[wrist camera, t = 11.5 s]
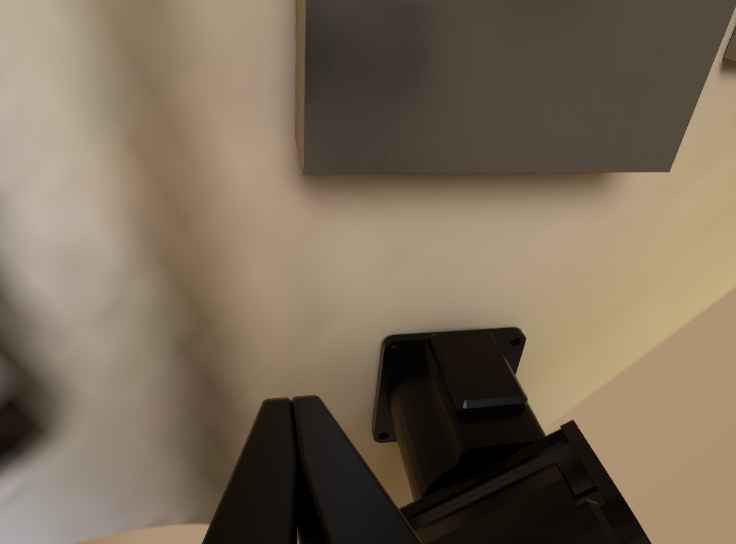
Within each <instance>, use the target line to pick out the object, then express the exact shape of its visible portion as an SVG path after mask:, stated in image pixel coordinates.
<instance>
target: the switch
mask: <svg viewBox="0 0 736 544" xmlns="http://www.w3.org/2000/svg"><path fill="white" fill-rule="evenodd" d="M735 7H736V0H296V101H295V137H296V142H297V146H298V151H299V156H300V161H301V165H302V170H303V174H443V173H593V172H670V169H671V167H672V164H673V162H674V159H675V157H676V154H677V152H678V149H679V147H680V144H681V142H682V139H683V137H684V134H685V132H686V129H687V127H688V124H689V122H690V119H691V117H692V114H693V112H694V109H695V107H696V104H697V102H698V99H699V97H700V94H701V92H702V89H703V87H704V84H705V82H706V79H707V77H708V74H709V72H710V69H711V67H712V64H713V62H714V59H715V57H716V54H717V52H718V49H719V47H720V44H721V42H722V39H723V37H724V34H725V32H726V29H727V27H728V24H729V22H730V19H731V17H732V14H733V12H734V9H735Z"/></svg>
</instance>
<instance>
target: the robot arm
mask: <svg viewBox="0 0 736 544" xmlns="http://www.w3.org/2000/svg"><path fill="white" fill-rule="evenodd" d="M513 338H515V339H514V340H512V339H513ZM525 342H526V337H525V335H524V334H523V332H522V331H521V329H519V328H498V329H482V330H466V331H450V332H434V333H418V334H402V335H392V336H389V337H387V338H386V339H385V340H384V341H383V344H382V350H381V359H380V367H379V376H378V384H377V393H376V401H375V409H374V418H373V426H372V433H373V437H374V440H375V441H376V442H379V443H386V442H396V441H397V442H398V445H399V449H400V452H401V456H402V460H403V463H404V467H405V470H406V474H407V477H408V481H409V485H410V488H411V492H412V495H413V499H414V502H412V503H410V504H408V505H406V506H404V507H402V508H400V509H398V507H397V506H396V505H395V503H394V502H393V500H392V499H391V498H390V496H389V495H388V493H387V492H386V491H385V489H384V488H383V486H382V485H381V483H380V482H379V481H378V479H377V478H376V476H375V475H374V474H373V472H372V471H371V469H370V468H369V467H368V465H367V464H366V462H365V461H364V459H363V458H362V457H361V455H360V454H359V452H358V451H357V450H356V448H355V447H354V445H353V444H352V443H351V441H350V440H349V438H348V437H347V435H346V434H345V433H344V431H343V430H342V428H341V427H340V426H339V424H338V423H337V421H336V420H335V419H334V417H333V416H332V414H331V413H330V411H329V410H328V409H327V407H326V406H325V404H324V403H323V402H322V400H321V399H320V398H319V397H318V396H316V395H308V396H296V397H294V398H293V399H292V400H290V399H289V398H287V397H284V398H272V399H266V400H264V401H263V403H262V405H261V407H260V409H259V412H258V414H257V416H256V419H255V421H254V423H253V426H252V428H251V430H250V433H249V435H248V437H247V440H246V442H245V444H244V447H243V449H242V451H241V454H240V456H239V458H238V461H237V463H236V465H235V468H234V470H233V472H232V475H231V477H230V479H229V482H228V484H227V486H226V489H225V491H224V493H223V496H222V498H221V500H220V503H219V505H218V507H217V510H216V512H215V514H214V517H213V519H212V521H211V524H210V526H209V528H208V531H207V533H206V535H205V538H204V540H203V542H202V544H297V529H298V539H299V544H651V542H650V540H649V539H648V537H647V535H646V534H645V532H644V530H643V529H642V527H641V525H640V524H639V522H638V520H637V519H636V517H635V516H634V514H633V512H632V511H631V509H630V507H629V506H628V504H627V503H626V501H625V499H624V498H623V497H622V495H621V493H620V492H619V490H618V489H617V487H616V485H615V484H614V483H613V481H612V479H611V478H610V476H609V475H608V473H607V471H606V470H605V468H604V467H603V465H602V464H601V462H600V461H599V459H598V457H597V456H596V455H595V453H594V451H593V450H592V448H591V447H590V445H589V444H588V442H587V440H586V439H585V437H584V436H583V434H582V433H581V431H580V429H579V428H578V426H577V425H576V423H575V422H574V420H571V421H569V422H567V423H566V424H563V425H561V426H560V427H561V429H559V430H557V431H555V432H553V433H551V434H549V435H547V436H546V435H545V433H544V431H543V429H542V427H541V426H540V424H539V422H538V420H537V418H536V417H535V415H534V413H533V411H532V409H531V407H530V406H529V404H528V402H527V400H528V399H527V396H526V394H525V392H524V391H523V389H522V387H521V385H520V383H519V381H518V380H517V378H516V376H515V375H516V372H517V368H518V365H519V362H520V358H521V355H522V352H523V348H524V345H525ZM396 345H397V347H396V348H391V347H393V346H396Z"/></svg>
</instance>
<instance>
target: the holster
mask: <svg viewBox="0 0 736 544" xmlns="http://www.w3.org/2000/svg"><path fill="white" fill-rule="evenodd" d="M724 57H725V58H727V59H730V60H733V61H736V28H735V31H734V33H733V36H732V38H731V41H730V43H729V45H728V48H727V50H726V53H725V55H724Z"/></svg>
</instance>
